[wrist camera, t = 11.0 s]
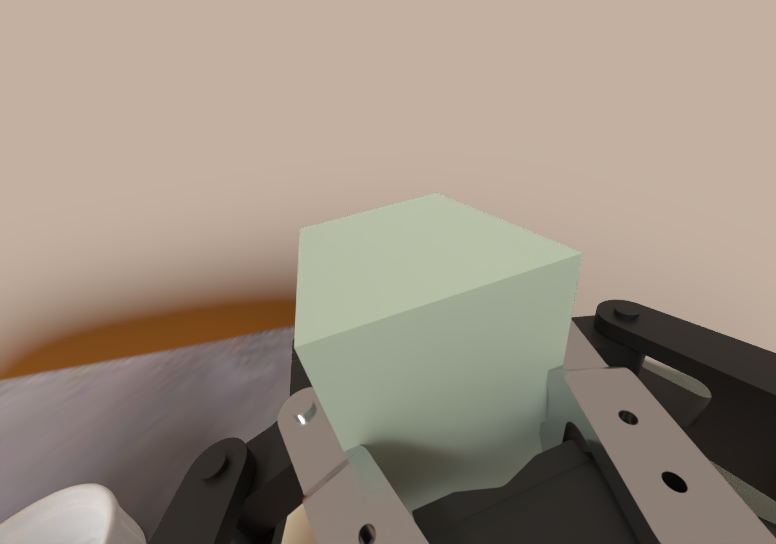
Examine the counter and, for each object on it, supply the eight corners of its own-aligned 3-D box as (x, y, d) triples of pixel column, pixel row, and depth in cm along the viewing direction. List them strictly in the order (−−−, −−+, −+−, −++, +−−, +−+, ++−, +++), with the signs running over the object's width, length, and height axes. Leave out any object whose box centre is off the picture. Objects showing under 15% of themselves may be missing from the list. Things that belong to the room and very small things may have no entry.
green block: (537, 509, 9) (582, 252, 5) (402, 574, 9) (294, 347, 4) (454, 378, 15) (436, 192, 10) (365, 411, 14) (299, 228, 9)
